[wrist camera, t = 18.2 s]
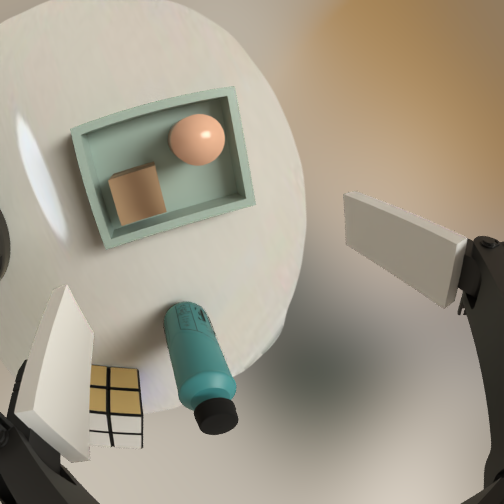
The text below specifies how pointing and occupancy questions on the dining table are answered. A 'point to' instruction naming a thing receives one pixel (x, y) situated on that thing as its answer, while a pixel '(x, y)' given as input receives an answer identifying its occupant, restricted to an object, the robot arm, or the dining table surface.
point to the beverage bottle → (200, 368)
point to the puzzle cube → (115, 408)
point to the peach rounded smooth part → (196, 139)
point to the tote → (164, 164)
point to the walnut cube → (137, 193)
